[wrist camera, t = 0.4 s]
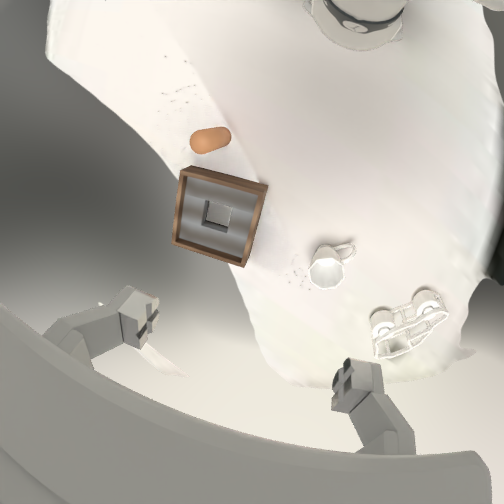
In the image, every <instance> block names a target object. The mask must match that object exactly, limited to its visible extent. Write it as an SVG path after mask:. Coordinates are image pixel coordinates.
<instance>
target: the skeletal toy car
mask: <svg viewBox="0 0 504 504" xmlns="http://www.w3.org/2000/svg"><path fill="white" fill-rule="evenodd" d="M435 296H436V297H437V298H435ZM438 302H439V303H440V305H441V307H442V308H439V304H438ZM411 306H413V307H414V310H415V312H416V314H414V315H412V316H410V317H407V318H406V316H405V313H404V310H403V309H406V308H409V307H411ZM397 311H400V312H401V315H402V318H403V320H402V323H403V324H402V325H400V326H397V327H396V326H395V323H394V319H393V315H392V313H395V312H397ZM438 313H444V315H443V316H442V317H441V318H439V319H437V320H435V321H434V322H433V323H432V324H431V325H430V323H429V321H428V320H430V319H432V318H433V317H434V316H435V315H436V314H438ZM448 316H449V313H448V311H447V309H446V307H445V305H444V303H443V301H442V299H441V297H440V295H439V294H438V293H436V292H432V291H430V290H422V291H420V292H418V293H417V294H416V295H415V296H414V298H413V301H411V302H409V303H407V304H405V305H402V306H399V307H396V308H394V309H391V310H389V311H387V310H381V311H378V312H376V313H374V314H373V315H372V317H371V319H370V324H371V330H372V342H373V349H374V357H375V358H376V359H383V358H393V357H395V356H398V355H401V354H403V353H406V352H408V351H410V350H412V349H414V348H415V347H416V346H418V345H420V344H421V343H422V342H423V341H424V339H425V338H427V337H428V336H429V335H430V334H431V332H432V331H433V329H434V327H435V326H437V325H438V324H440V323H441V322H443V321H445V320H446V319H447V318H448ZM415 318H416V319H415ZM413 319H415V320H414V321H411V322H408V321H410V320H413ZM422 321H425V322H426V325H427V328H426V329H424V330H422V331H420V332H418V333H416V334H413V335H411V336H410V334H409V329H411V328H413V327H415V326H416V325H417V324H419V323H420V322H422ZM407 322H408V323H407ZM395 332H396V333H395ZM403 333H406V336H407V341H408V344H409V346H408V347H406V348H403V349H401V350H398V351H396V352H393V353H390V348H389V343H388V339H391V338H394V337H396V336H399V335H401V334H403ZM420 336H421V337H420ZM418 337H420V339H419V340H418V341H416V342H414V343H412V342H411V340H414V339H416V338H418ZM382 340H385V344H386V349H387V353H384V354H378V343H379V342H381V341H382Z"/></svg>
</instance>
